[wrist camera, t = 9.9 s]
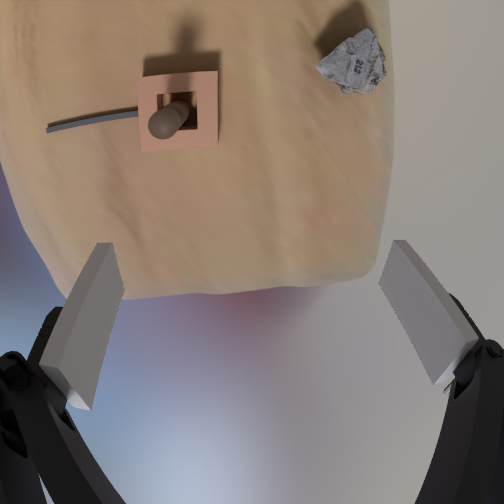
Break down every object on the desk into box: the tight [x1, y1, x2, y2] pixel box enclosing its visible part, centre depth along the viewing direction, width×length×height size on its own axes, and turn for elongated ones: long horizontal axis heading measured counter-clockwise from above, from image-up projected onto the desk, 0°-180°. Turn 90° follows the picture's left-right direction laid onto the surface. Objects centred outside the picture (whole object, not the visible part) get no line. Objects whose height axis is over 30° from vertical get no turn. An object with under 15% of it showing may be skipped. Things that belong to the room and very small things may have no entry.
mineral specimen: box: [316, 27, 386, 93], centre depth 31 cm, size 10×8×10 cm
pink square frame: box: [137, 71, 218, 152], centre depth 34 cm, size 10×10×3 cm
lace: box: [46, 110, 139, 133], centre depth 34 cm, size 1×16×1 cm, turn 89°
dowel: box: [148, 99, 191, 140], centre depth 30 cm, size 3×3×12 cm
